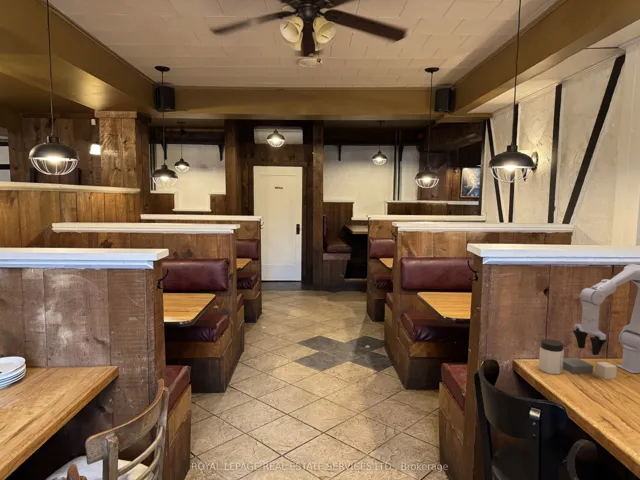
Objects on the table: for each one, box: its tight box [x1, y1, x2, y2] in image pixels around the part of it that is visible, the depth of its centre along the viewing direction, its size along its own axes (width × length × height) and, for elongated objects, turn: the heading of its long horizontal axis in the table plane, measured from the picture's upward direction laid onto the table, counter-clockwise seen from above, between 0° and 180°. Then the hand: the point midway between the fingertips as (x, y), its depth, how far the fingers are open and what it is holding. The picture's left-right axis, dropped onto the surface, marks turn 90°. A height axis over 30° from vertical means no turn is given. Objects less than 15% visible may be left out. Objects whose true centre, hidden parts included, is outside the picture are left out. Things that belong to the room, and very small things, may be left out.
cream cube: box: [594, 361, 618, 380], centre depth 167 cm, size 5×5×5 cm
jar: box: [538, 338, 565, 375], centre depth 173 cm, size 9×8×12 cm
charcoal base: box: [563, 357, 594, 375], centre depth 174 cm, size 9×9×4 cm
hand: (588, 351), depth 169 cm, fingers open, 7 cm apart
